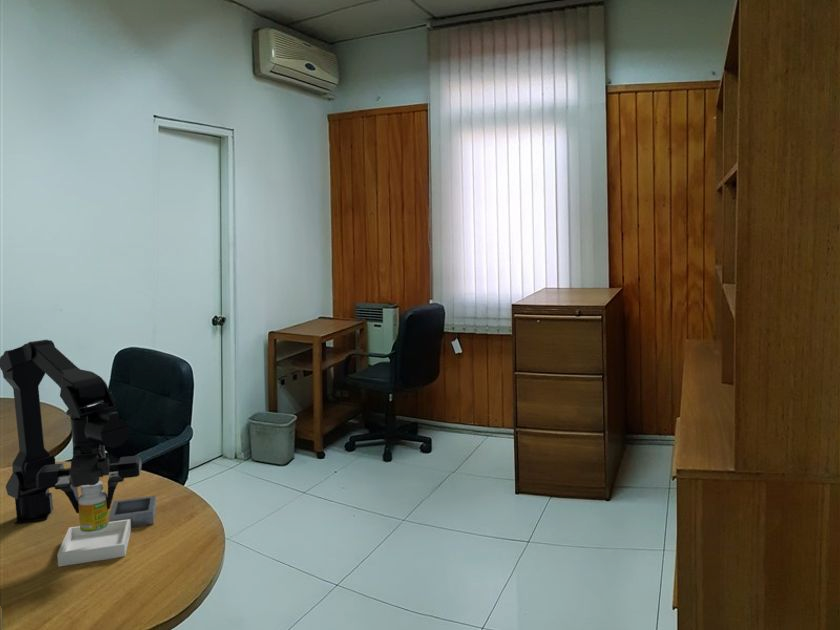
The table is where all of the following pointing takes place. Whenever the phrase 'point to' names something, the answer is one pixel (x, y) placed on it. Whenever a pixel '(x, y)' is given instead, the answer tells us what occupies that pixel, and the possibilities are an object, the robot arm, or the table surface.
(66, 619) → the table surface
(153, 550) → the table surface
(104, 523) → the supplement bottle
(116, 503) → the can holder
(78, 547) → the tray
